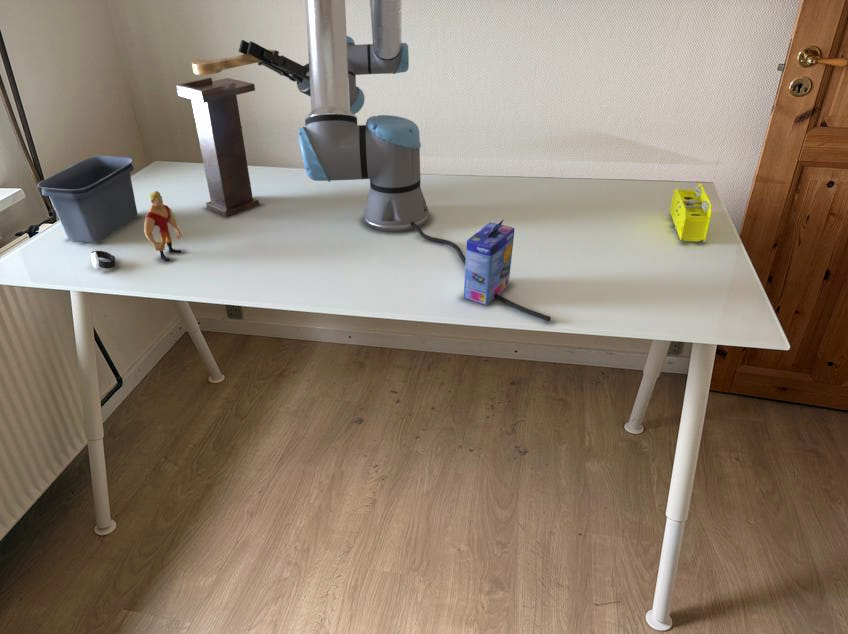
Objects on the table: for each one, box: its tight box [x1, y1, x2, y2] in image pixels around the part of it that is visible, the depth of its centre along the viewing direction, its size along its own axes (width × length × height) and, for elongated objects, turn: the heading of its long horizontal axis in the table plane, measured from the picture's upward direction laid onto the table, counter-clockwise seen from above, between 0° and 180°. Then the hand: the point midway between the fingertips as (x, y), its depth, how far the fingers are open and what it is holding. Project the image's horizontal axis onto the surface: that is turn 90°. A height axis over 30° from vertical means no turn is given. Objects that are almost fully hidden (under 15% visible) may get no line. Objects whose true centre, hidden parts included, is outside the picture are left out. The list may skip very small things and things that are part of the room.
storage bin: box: [37, 155, 139, 244], centre depth 161 cm, size 21×16×14 cm
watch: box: [90, 250, 116, 270], centre depth 147 cm, size 8×5×4 cm, turn 40°
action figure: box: [143, 190, 184, 262], centre depth 146 cm, size 10×4×15 cm, turn 158°
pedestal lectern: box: [175, 76, 260, 218], centre depth 165 cm, size 14×11×30 cm
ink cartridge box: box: [463, 219, 516, 306], centre depth 127 cm, size 10×6×14 cm, turn 146°
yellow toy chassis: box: [669, 182, 713, 243], centre depth 148 cm, size 16×6×8 cm, turn 168°
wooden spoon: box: [191, 48, 276, 76], centre depth 158 cm, size 22×6×2 cm, turn 135°
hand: (245, 46), depth 159 cm, fingers closed on wooden spoon, 3 cm apart
